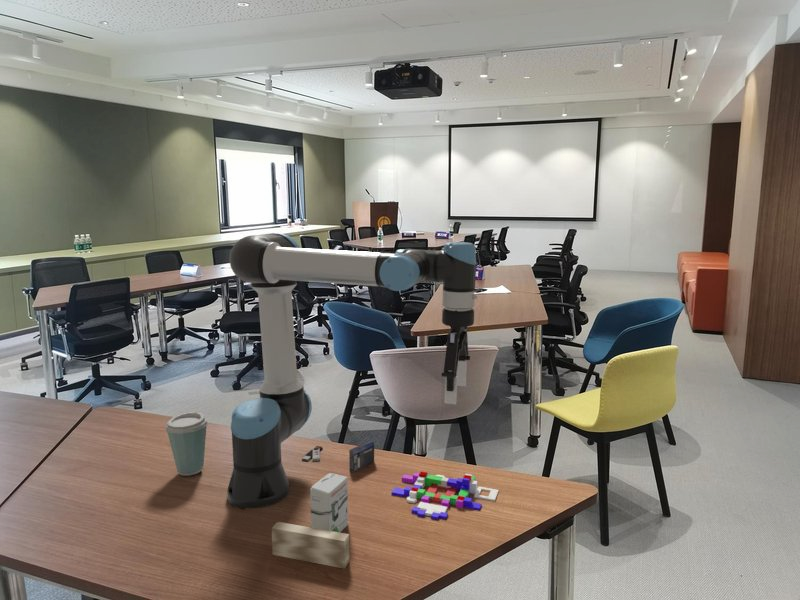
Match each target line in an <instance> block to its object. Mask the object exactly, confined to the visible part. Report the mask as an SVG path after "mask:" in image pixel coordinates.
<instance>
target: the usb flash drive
mask: <svg viewBox="0 0 800 600" xmlns="http://www.w3.org/2000/svg"><path fill="white" fill-rule="evenodd" d="M323 450H324V449H323V446H319V445H316V446H315V447H313V448H312V449H311V450H310V451H308V452H307V453H306V454H304V456H303V457H301V460H302V461H304V462H309V461H310V460H311V459H312V462H320V460H321V459H320V458H321V457H320V455H321V454H320V452H321V451H323Z"/></svg>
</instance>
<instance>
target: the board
mask: <svg viewBox="0 0 800 600" xmlns="http://www.w3.org/2000/svg"><path fill="white" fill-rule="evenodd" d="M271 548H272V549H271V550H272V551H271V552H272V556H278V557H283V558H287V559H292V560H297V561H304V562H309V563H313V564H318V565H319V564H320V565H324V566H328V567H334V568H339V569H346V568H347V566H348V564H349V563H350V534H349V533H345V532H340V533H339V532H333V531H328V530H322V529H316V528H311V526H310V527H309V526H305V525H298V524H294V523H293V524H292V523H288V522H287V523H286V522H282V521H277V522H276V523H275V524H274V525H273V526H272V527H271Z"/></svg>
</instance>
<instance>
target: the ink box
mask: <svg viewBox="0 0 800 600" xmlns="http://www.w3.org/2000/svg"><path fill="white" fill-rule="evenodd" d="M348 478H349V477H348V476H345V475H341V474H337V473H332V472H329V473H327V474H326V475H324V476H323V477H322V478H321V479H320V480H318V481H316V483H314V484H313V485H312V486H311V487H310V489H309V490H310V527H311V528H316V529H322V530H328V531H333V532H339V533H342V532H343V530H344V529H345V528H346V527H347V526H349V499H348V498H349V491H348V490H349V489H348V488H349V487H348V486H349V485H348V481H349V480H348Z"/></svg>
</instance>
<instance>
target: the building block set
mask: <svg viewBox="0 0 800 600" xmlns="http://www.w3.org/2000/svg"><path fill="white" fill-rule="evenodd" d="M401 482H403V483H409V484H413V487H412V486H405V487H404V488H401V487H394V488H393V489H392V490H391V493H390V494H391V495H392V496H398V497H401V498H402V497H403V498H404V497H406V503H411V504H415V503H417V502H418V499H420V501H419V503H418V505H417V506H413V507H412V508H411V514H412V513H413V514H416V516H418V517H421V518H425V516H427V517H430V519H432V520H439V519H443V520H446V519H447V518H448V516H449V513H448V512H447V510H448V509H449V506H450V505H454V506H455V508H459V509H463V508H466V509H470V510H475V511H476V510H477V511H480V510H481V508H482V503H481V502H480V503H479V502H473V497H474V498H476V499H479V500H480V499H481V500H486V501H491V502H492V501H493V502H496V499H497V496H498V494H499V489H495V488H490V487H484V486H478V480H476V476H475V475H473V474H471V473H465V474H464V476H463V477H462V478H461V477H458V478H457V479H456V478H453V477H452V478H451V477H449V478H448V477H446V476H445V475H443V474H429V472H427V471H420V472H414V473H413V474H412V475H409V474H403V475H402V476H401ZM426 486H427V487H428V489H427V490H426V489H424V488H425V487H426ZM439 489H445V490H446V493H445V494H439V493H437V492H438V490H439ZM482 491H485V492H486V491H487V492H489V494H488V496H487V495H482V494H481V492H482ZM457 492H458V495H456V493H457ZM470 494H473V497H469V496H470ZM431 501H432V502H435V503H440V504H439V505H438V504H433V503H430V502H431Z"/></svg>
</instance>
